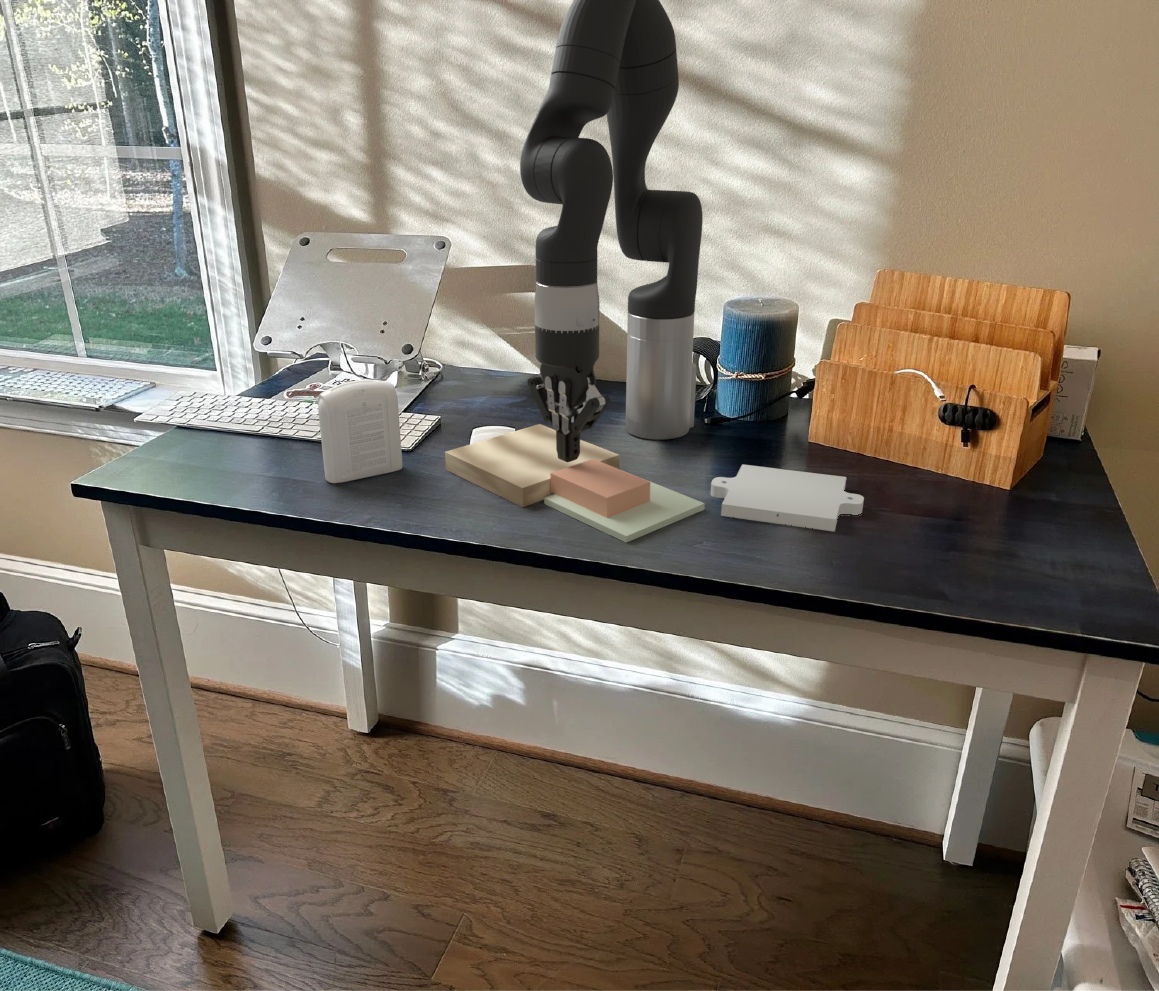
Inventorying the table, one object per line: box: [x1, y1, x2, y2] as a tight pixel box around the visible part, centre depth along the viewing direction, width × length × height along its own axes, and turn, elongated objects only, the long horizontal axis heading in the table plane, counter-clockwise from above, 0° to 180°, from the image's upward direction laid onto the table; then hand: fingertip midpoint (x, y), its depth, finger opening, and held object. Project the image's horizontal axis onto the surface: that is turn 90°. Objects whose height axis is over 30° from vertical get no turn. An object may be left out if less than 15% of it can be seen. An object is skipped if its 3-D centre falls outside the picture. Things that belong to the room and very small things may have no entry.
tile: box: [550, 459, 651, 518], centre depth 114 cm, size 7×10×2 cm
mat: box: [543, 469, 706, 543], centre depth 114 cm, size 13×14×1 cm
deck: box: [444, 423, 620, 508], centre depth 124 cm, size 16×16×2 cm
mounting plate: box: [710, 464, 865, 533], centre depth 115 cm, size 18×13×2 cm
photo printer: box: [317, 379, 403, 484], centre depth 121 cm, size 10×4×12 cm, turn 123°
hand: (568, 459), depth 118 cm, fingers closed
